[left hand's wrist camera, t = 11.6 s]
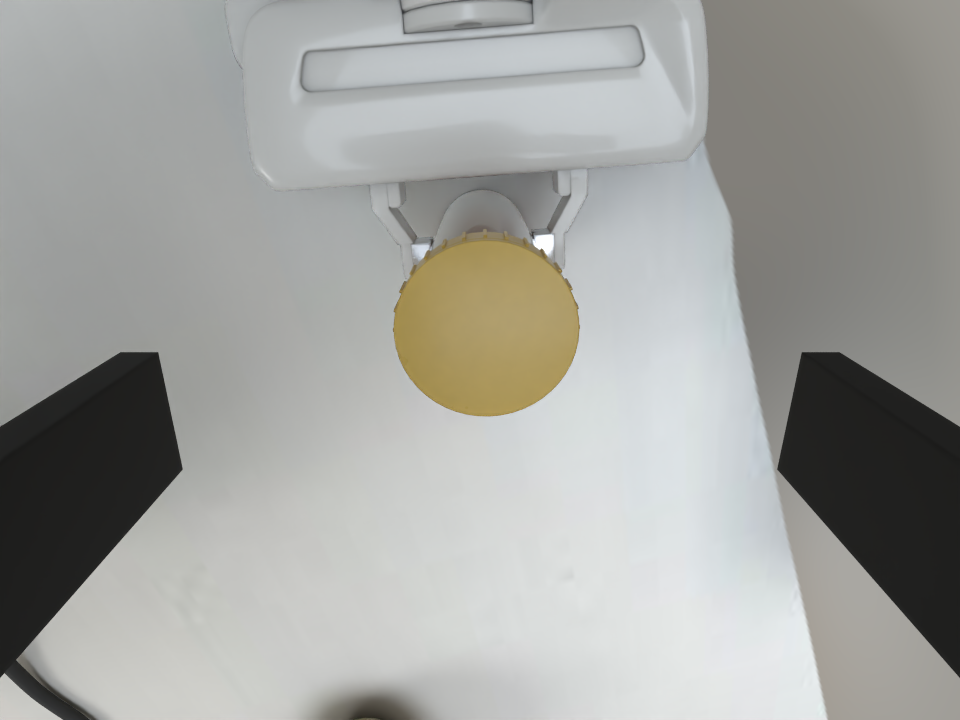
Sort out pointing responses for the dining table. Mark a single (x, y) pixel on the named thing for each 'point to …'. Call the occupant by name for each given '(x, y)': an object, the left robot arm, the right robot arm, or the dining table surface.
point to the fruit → (367, 719)
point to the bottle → (481, 217)
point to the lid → (486, 324)
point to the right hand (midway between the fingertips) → (485, 271)
